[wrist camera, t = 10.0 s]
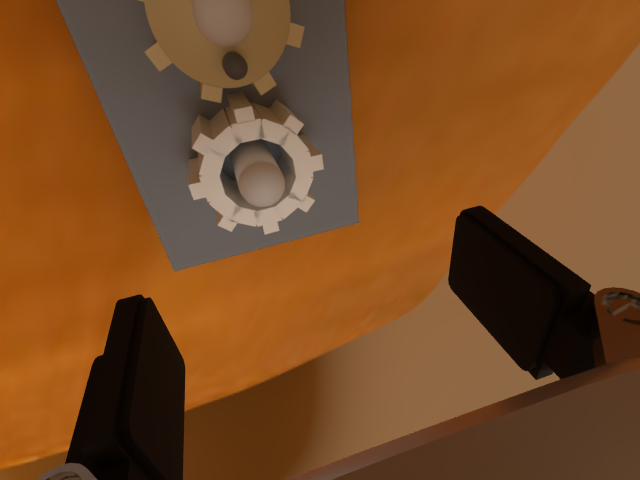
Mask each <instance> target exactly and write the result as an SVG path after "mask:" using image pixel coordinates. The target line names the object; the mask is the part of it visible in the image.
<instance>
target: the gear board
mask: <svg viewBox="0 0 640 480" xmlns="http://www.w3.org/2000/svg"><path fill="white" fill-rule="evenodd" d="M56 2H57V4H58V6H59V9H60V11H61V13H62V16H63V18H64V20H65V22H66V25H67V27H68V29H69V32H70V34H71V36H72V38H73V41H74V43H75V45H76V48H77V50H78V52H79V54H80V57H81V59H82V61H83V63H84V66H85V68H86V70H87V73H88V75H89V77H90V79H91V82H92V84H93V86H94V89H95V91H96V93H97V95H98V98H99V100H100V102H101V105H102V107H103V109H104V111H105V114H106V116H107V118H108V121H109V123H110V125H111V127H112V130H113V132H114V134H115V137H116V139H117V141H118V143H119V146H120V148H121V150H122V153H123V155H124V157H125V159H126V162H127V164H128V166H129V169H130V171H131V173H132V175H133V178H134V180H135V182H136V185H137V187H138V189H139V191H140V194H141V196H142V198H143V201H144V203H145V205H146V207H147V210H148V212H149V214H150V216H151V219H152V221H153V223H154V226H155V228H156V230H157V232H158V235H159V237H160V239H161V242H162V244H163V246H164V248H165V251H166V253H167V255H168V258H169V260H170V262H171V264H172V267H173V269H174V271H178V270H182V269H186V268H189V267H193V266H197V265H201V264H204V263H208V262H212V261H216V260H220V259H223V258H227V257H231V256H235V255H239V254H242V253H246V252H250V251H254V250H257V249H261V248H265V247H269V246H273V245H276V244H280V243H284V242H288V241H291V240H295V239H299V238H303V237H307V236H310V235H314V234H318V233H322V232H326V231H329V230H333V229H337V228H341V227H344V226H348V225H352V224H356V223H359V218H358V203H357V188H356V172H355V157H354V142H353V126H352V111H351V95H350V80H349V65H348V49H347V34H346V19H345V3H344V0H56ZM242 91H243V93H244V95H245V96H246V98H247V99H248V101H249V102H250V103H251V104H252V102H253V103H256V104H258V105H261V106H264V107H267V108H270V107H271V105H272V104H273V102H274V100H275V99H276V100H278V101H279V102H280V103H282V104H283V105H285V106H286V107H287V108H288V109H289V110H290V111H291V112H292V113H293V114H294V115H295V116H296V117H297V118H298V119H299V120H300V121H301V122H302V123H303V124H304V125H303V127H302V128H301V130H300V131H299V133H298V134H297V136H298V135H303V134H304V135H305V136H306V137H307V138H308V140H309V141H310V142H311V143H312V144H313V145H314V146H315V147H316V148H317V149H318V150H319V152H320V153H321V154H322V159H323V167H324V169H323V170H319V171H315V172H313V176H314V177H313V181H312V183H311V186H310V188H309V192H310V193H311V195H312V196H313V198H314V199H315V202H314V203H313V204H312V206H311V207H310V209H309V210H308V211H307V213H306V212H305V211H303V210H301V209H299V208H297V209H296V210H294V211H293V212H292V213H291V214H290V215H289V216H287V217H286V218H285V219H283V218H282V221H278V226H279V231H277V232H273V233H269V234H264V231H263V228H262V226H259V227H257V225H256V227H254V226H249V225H245V224H240V223H237V224H236V226H235V227H234V229H233V230H232V232H230V231H228V230H226V229H224V228H222V227H220V226H217V219H216V211H215V209H214V208H213V207H212V206H211V205H209V202H207V199H206V198H201V199H197V200H193V197H192V194H191V191H190V189H189V186H188V161H189V159H193V158H197V157H198V152H197V151H196V150H194V149H192V126H193V124H194V122H195V120H196V119H197V117H198V115H199V114H200V115H202V116H203V117H205V118H206V119H208V120H211V119H212V118H213V117H214V116H215V115H216V114H217V113H218V112H219V111H220V110H221V109H223V108H224V109H225V107H228V106H230V104H229V100H228V96H227V94H232V93H237V92H242ZM281 155H282V154H281V149H280V145H279V144H276V143H273V142H269V141H266V140H263V139H258V140H253V141H248V142H244V143H240V144H239V145H238V146H237V147H236V148H235V149H233V150H232V151H231V152H230V153H229V154H228V155H227V156H226V157H225V159H224V162H223V166H222V169H221V170H222V171H223V172H224V173H226V174H227V175H228V176H229V177H230V178H231V179H232V180H235V181H237V184H238V187H239V191H240V193H241V195H242V197H243V198H244V199H245V200H246V201H247V202H248V203H250V204H252V205H254V206H257V207H267V206H271V205H273V204H274V203H276V202H277V201H278V200H279V199H280V198H281V196H282V195H283V192H284V189H285V179H284V176H283V174H282V172H281V170H280V168H279V167H278V163H279V160H280V157H281Z"/></svg>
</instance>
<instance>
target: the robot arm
mask: <svg viewBox="0 0 640 480" xmlns="http://www.w3.org/2000/svg"><path fill="white" fill-rule="evenodd" d="M448 281H449V285H450V288H451V289H452V291H453V292H454V293H455V294H456V295H457V296H458V297H459V299H460V300H461V301H462V302H463V303H464V304H465V305H466V307H467V308H468V309H469V310H470V311H471V312H472V313H473V315H474V316H475V317H476V318H477V319H478V320H479V321H480V322H481V324H482V325H483V326H484V327H485V328H486V329H487V330H488V332H489V333H490V334H491V335H492V336H493V337H494V338H495V340H496V341H497V342H498V343H499V344H500V345H501V346H502V348H503V349H504V350H505V351H506V352H507V353H508V354H509V356H510V357H511V358H512V359H513V360H514V361H515V362H516V364H517V365H518V366H519V367H520V368H521V369H523V370H525V371H529V373H530V374H531V375H532V376H533V377H534V378H535V379H536V380H537V379H540V378H543V377H546V376H548V375H551V374H552V373H553V372H554V373H555V374H556V375H557V376H558V377H559V378H560V380H558V381H555V382H552V383H549V384H546V385H544V386H541V387H538V388H535V389H533V390H530V391H527V392H524V393H522V394H519V395H516V396H513V397H510V398H508V399H505V400H502V401H499V402H497V403H494V404H491V405H488V406H485V407H483V408H480V409H477V410H474V411H472V412H469V413H466V414H463V415H461V416H458V417H455V418H452V419H450V420H447V421H444V422H441V423H439V424H436V425H433V426H431V427H428V428H425V429H422V430H420V431H417V432H414V433H411V434H409V435H406V436H403V437H400V438H398V439H395V440H392V441H389V442H387V443H384V444H381V445H379V446H376V447H373V448H370V449H368V450H365V451H362V452H359V453H357V454H354V455H351V456H349V457H346V458H343V459H341V460H338V461H335V462H333V463H330V464H327V465H325V466H322V467H319V468H317V469H314V470H311V471H309V472H306V473H303V474H300V475H298V476H295V477H292V478H290V479H287V480H640V293H638V292H636V291H632V290H628V289H624V288H614V287H613V288H605V289H602V290H600V291H598V292H597V293H596V294H595V295H594V294H593V293H592V292H590V291H589V290H590V287H591V285H590V284H589V283H588V282H586V281H585V280H583V279H582V278H581V277H579V276H578V275H577V274H575V273H574V272H572V271H571V270H570V269H568V268H567V267H566V266H564V265H563V264H561V263H560V262H559V261H557V260H556V259H554V258H553V257H552V256H550V255H549V254H548V253H546V252H545V251H544V250H542V249H541V248H539V247H538V246H537V245H535V244H534V243H533V242H531V241H530V240H528V239H527V238H526V237H524V236H523V235H521V234H520V233H519V232H517V231H516V230H515V229H513V228H512V227H511V226H509V225H508V224H506V223H505V222H504V221H502V220H501V219H500V218H498V217H497V216H496V215H494V214H493V213H491V212H490V211H489V210H487V209H486V208H485V207H483V206H476V207H472V208H469V209H465V210H463V211H461V213H460V216H458V217H457V218H456V224H455V232H454V239H453V247H452V255H451V262H450V270H449V278H448ZM184 403H185V364H184V360H183V358H182V355H181V354H180V352H179V350H178V348H177V346H176V344H175V342H174V340H173V338H172V336H171V335H170V333H169V331H168V329H167V327H166V325H165V323H164V321H163V319H162V317H161V316H160V314H159V312H158V310H157V308H156V306H155V304H154V302H153V300H152V299H151V298H144V297H143V296H142V295H136V296H132V297H128V298H124V299H120V300H118V301H117V303H116V306H115V310H114V314H113V318H112V322H111V326H110V330H109V334H108V338H107V342H106V346H105V350H104V354H103V355H101V356H98V357H97V358H96V359H95V360H94V362H93V365H92V368H91V371H90V375H89V379H88V382H87V386H86V390H85V393H84V397H83V400H82V404H81V408H80V411H79V415H78V419H77V422H76V426H75V429H74V433H73V437H72V440H71V444H70V448H69V451H68V455H67V459H66V462H65V464H64V465H60V466H58V467H55V468H53V469H51V470H49V471H48V472H46V473H45V474H43V475H42V476H41V477H39V478H38V479H37V480H183V445H184V444H183V443H184Z"/></svg>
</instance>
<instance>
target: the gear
mask: <svg viewBox="0 0 640 480" xmlns="http://www.w3.org/2000/svg"><path fill="white" fill-rule="evenodd" d="M227 96H228V100H229V104H230V106H228V107H225V109H224V108H223V109H221V110H220V111H219V112H218V113H217V114H216V115H215V116H214V117H213V118H212V119H211V120H208V119H206V118H205V117H203V116H202V115H200V114H199V115H198V117H197V119H196V120H195V122H194V124H193V126H192V149H194V150H196V151H197V152H198V157H197V158H193V159H189V161H188V186H189V189H190V191H191V194H192V197H193V200H197V199H201V198H206V199H207V202H209V205H211V206H212V207H213V208H214V209H215V211H216V219H217V226H220V227H222V228H224V229H226V230H228V231H230V232H232V230H233V229H234V227H235V226H236V224H237V223H240V224H245V225H249V226H254V227H256V225H257V227H259V226H262V228H263V231H264V234H269V233H273V232H277V231H279V226H278V221H282V218H283V219H285V218H286V217H287V216H289V215H290V214H291V213H292V212H293V211H294V210H296V209H297V208H299V209H301V210H303V211H305V212H306V213H307V211H308V210H309V209H310V207H311V206H312V204H313V203H314V202H315V199H314V198H313V196H312V195H311V193H310V192H309V188H310V186H311V183H312V181H313V177H314V176H313V172H315V171H319V170H323V169H324V167H323V159H322V154H321V153H320V152H319V150H318V149H317V148H316V147H315V146H314V145H313V144H312V143H311V142H310V141H309V140H308V138H307V137H306V136H305V135H304V134H303V135H298V136H297V134H298V133H299V131H300V130H301V128H302V127H303V125H304V124H303V123H302V122H301V121H300V120H299V119H298V118H297V117H296V116H295V115H294V114H293V113H292V112H291V111H290V110H289V109H288V108H287V107H286V106H285V105H283V104H282V103H280V102H279V101H278V100H276V99H275V100H274V102H273V104H272V105H271V107H270V108H267V107H264V106H261V105H258V104H256V103H253V102H252V104H251V103H250V102H249V101H248V99H247V98H246V96H245V95H244V93H243V91H242V92H237V93H232V94H227ZM258 139H263V140H266V141H269V142H273V143H276V144H279V145H280V149H281V154H282V155H281V157H280V160H279V163H278V167H279V168H280V170H281V172H282V174H283V176H284V179H285V189H284V192H283V195H282V196H281V198H280V199H279V200H278V201H277V202H276V203H274V204H273V205H271V206H267V207H257V206H254V205H252V204H250V203H248V202H247V201H246V200H245V199H244V198H243V197H242V195H241V193H240V191H239V187H238V184H237V181H235V180H232V179H231V178H230V177H229V176H228V175H227V174H226V173H224V172H223V171H222V170H221V169H222V166H223V162H224V159H225V157H226V156H227V155H228V154H229V153H230V152H231V151H232V150H233V149H235V148H236V147H237V146H238V145H239V144H240V143H244V142H248V141H253V140H258Z"/></svg>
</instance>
